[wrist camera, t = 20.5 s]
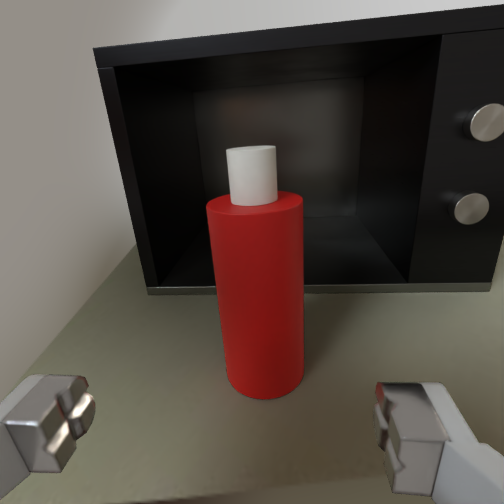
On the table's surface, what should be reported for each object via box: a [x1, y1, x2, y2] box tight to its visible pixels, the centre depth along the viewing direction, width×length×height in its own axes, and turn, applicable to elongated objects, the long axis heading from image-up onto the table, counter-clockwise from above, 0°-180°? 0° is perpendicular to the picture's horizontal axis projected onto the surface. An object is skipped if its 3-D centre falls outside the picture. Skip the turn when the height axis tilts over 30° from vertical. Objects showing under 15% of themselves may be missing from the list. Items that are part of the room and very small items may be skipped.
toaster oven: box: [93, 4, 504, 295], centre depth 40 cm, size 36×27×24 cm
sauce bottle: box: [206, 146, 304, 399], centre depth 21 cm, size 6×6×16 cm
